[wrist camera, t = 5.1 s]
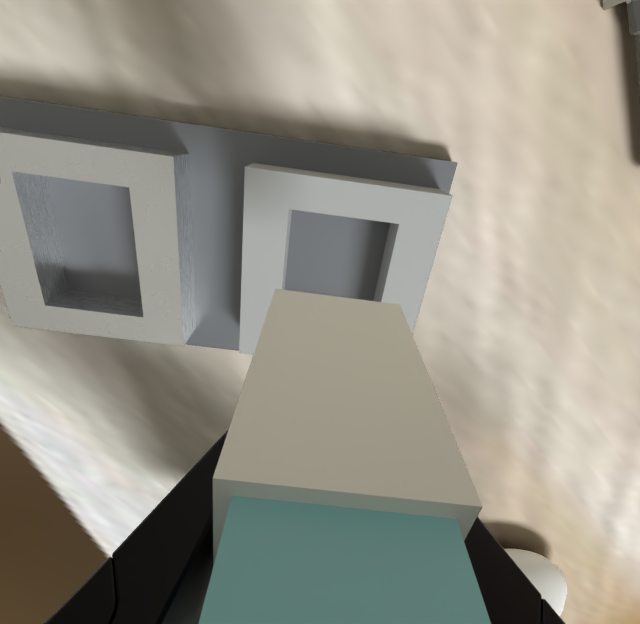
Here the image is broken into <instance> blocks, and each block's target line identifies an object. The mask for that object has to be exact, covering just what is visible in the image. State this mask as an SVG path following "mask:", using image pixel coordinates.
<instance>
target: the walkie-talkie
mask: <svg viewBox="0 0 640 624" xmlns="http://www.w3.org/2000/svg"><path fill="white" fill-rule="evenodd" d="M602 1H603V10H606V9H608V8H611V7H613V6H615V5H618V4H620V3H622V2H625V1H626V3H627V12H628V23H629V34H632V35H635V47H636V59H637V72H638V85H639V97H640V0H602Z"/></svg>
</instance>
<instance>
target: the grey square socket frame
mask: <svg viewBox="0 0 640 624" xmlns="http://www.w3.org/2000/svg"><path fill="white" fill-rule="evenodd" d="M451 199H452V195H450V194H448V193H446V192H444V191H443V190H441V189H436V188H429V187H422V186H415V185H408V184H401V183H394V182H387V181H380V180H373V179H365V178H358V177H351V176H344V175H337V174H330V173H323V172H316V171H309V170H301V169H294V168H287V167H280V166H273V165H266V164H259V163H252V164H250V165H248V166H245V178H244V211H243V243H242V276H241V309H240V341H239V353H245V354H253V355H254V351H255V348H256V345H257V342H258V339H259V336H260V333H261V330H262V327H263V324H264V321H265V318H266V315H267V312H268V309H269V306H270V303H271V300H272V297H273V294H274V291H275V289H283V290H285V279H286V268H287V258H288V247H289V236H290V225H291V214H292V210H299V211H307V212H314V213H322V214H329V215H336V216H344V217H351V218H358V219H366V220H373V221H380V222H388V223H390V226H389V231H388V235H387V240H386V245H385V249H384V254H383V258H382V263H381V267H380V272H379V277H378V281H377V286H376V290H375V295H374V299H373V301H376V302H384V303H391V304H399V305H400V306H401V308H402V311H403V313H404V316H405V318H406V321H407V323H408V326H409V328H410V331H411V333H412V334H413V331H414V327H415V324H416V320H417V317H418V313H419V310H420V306H421V303H422V299H423V296H424V293H425V289H426V286H427V282H428V279H429V275H430V272H431V268H432V265H433V261H434V258H435V254H436V251H437V248H438V244H439V241H440V237H441V234H442V230H443V227H444V223H445V220H446V216H447V213H448V210H449V206H450V203H451Z"/></svg>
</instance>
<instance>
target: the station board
mask: <svg viewBox="0 0 640 624" xmlns="http://www.w3.org/2000/svg"><path fill="white" fill-rule="evenodd" d="M0 127H3V128H10V129H17V130H24V131H31V132H39V133H46V134H53V135H60V136H67V137H74V138H81V139H88V140H95V141H103V142H110V143H117V144H124V145H131V146H138V147H145V148H152V149H159V150H166V151H174V152H181V153H188V154H190V175H191V204H192V232H193V261H194V290H195V319H196V328H195V330H194V331H193V333H192V334H191V336H190V337H189V339H188V340H187V342H186V343H185V344H187V345H195V346H204V347H212V348H221V349H229V350H237V351H239V341H240V309H241V276H242V243H243V211H244V178H245V166H248V165H250V164H252V163H259V164H266V165H273V166H280V167H287V168H294V169H301V170H309V171H316V172H323V173H330V174H337V175H344V176H351V177H358V178H365V179H373V180H380V181H387V182H394V183H401V184H408V185H415V186H422V187H429V188H436V189H441V190H443V191H444V192H446V193H448V194H449V191H450V188H451V184H452V181H453V177H454V173H455V170H456V166H457V162H453V161H447V160H440V159H433V158H426V157H419V156H412V155H405V154H398V153H391V152H384V151H377V150H370V149H363V148H357V147H350V146H343V145H336V144H329V143H322V142H315V141H308V140H301V139H294V138H287V137H280V136H273V135H266V134H259V133H253V132H246V131H239V130H232V129H225V128H218V127H211V126H204V125H197V124H190V123H183V122H176V121H169V120H162V119H155V118H149V117H142V116H135V115H128V114H121V113H114V112H107V111H100V110H93V109H86V108H79V107H72V106H65V105H58V104H52V103H45V102H38V101H31V100H24V99H17V98H10V97H3V96H0ZM46 177H47V182H48V187H49V192H50V196H51V201H52V206H53V211H54V216H55V220H56V225H57V230H58V235H59V239H60V244H61V249H62V254H63V259H64V263H65V268H66V273H67V278H68V282H69V287H70V290H75V291H83V292H91V293H99V294H107V295H115V296H123V297H132V298H140V299H141V290H140V281H139V272H138V263H137V254H136V245H135V236H134V227H133V218H132V209H131V199H130V190H129V187H123V186H116V185H108V184H101V183H93V182H86V181H79V180H71V179H64V178H57V177H49V176H46ZM389 226H390V223H388V222H380V221H373V220H366V219H358V218H351V217H344V216H336V215H329V214H322V213H314V212H307V211H299V210H292V214H291V225H290V236H289V247H288V258H287V268H286V279H285V290H291V291H299V292H306V293H314V294H322V295H329V296H337V297H345V298H353V299H360V300H368V301H373V299H374V295H375V290H376V286H377V281H378V277H379V272H380V267H381V263H382V258H383V254H384V249H385V245H386V240H387V235H388V231H389Z"/></svg>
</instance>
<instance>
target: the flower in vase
mask: <svg viewBox="0 0 640 624" xmlns="http://www.w3.org/2000/svg"><path fill="white" fill-rule="evenodd" d="M504 550H505V551H506V552H507V553H508V554H509V556H510V557H511V558H512V559H513V561H514V562H515V563H516V564H517V565H518V567H519V568H520V569H521V570H522V572H523V573H524V574H525V575H526V576H527V578H528V579H529V580H530V581H531V583H532V584H533V585H534V586H535V587H536V589H537V590H538V591H539V592H540V594H541V596H542V599H545V600H546V601H547V602H548V603H549V604H550V605H551V607H552V608H553V609H554V610H555V612H556V613H557V614H558V615H559V616H560V615H561V613H562V611H563V607H564V604H565V600H566V596H567V587H566V581H565V576H564V574H563V572H562V571H561V569H560V568H559V567H558V566H556V565H555V564H554V563H552V562H551V561H550V560H548V559H547V558H546V557H544V556H542V555H540V554H537V553H534V552H531V551H527V550H521V549H504Z"/></svg>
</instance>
